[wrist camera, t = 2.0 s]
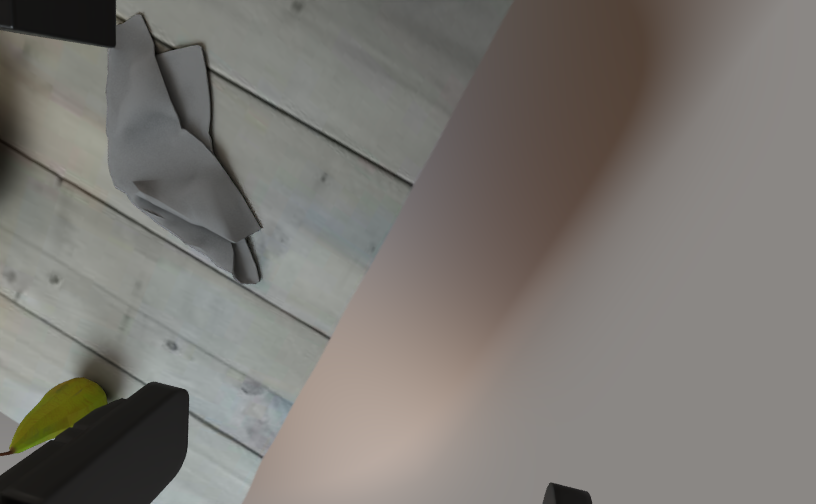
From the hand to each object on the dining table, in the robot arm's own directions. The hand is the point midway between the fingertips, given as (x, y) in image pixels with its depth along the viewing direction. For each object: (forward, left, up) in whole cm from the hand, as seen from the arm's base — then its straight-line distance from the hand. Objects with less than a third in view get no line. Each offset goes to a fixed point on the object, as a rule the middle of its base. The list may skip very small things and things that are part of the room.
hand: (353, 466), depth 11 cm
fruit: (+43, -19, -34) cm, 58 cm away
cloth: (+14, -24, -34) cm, 44 cm away
